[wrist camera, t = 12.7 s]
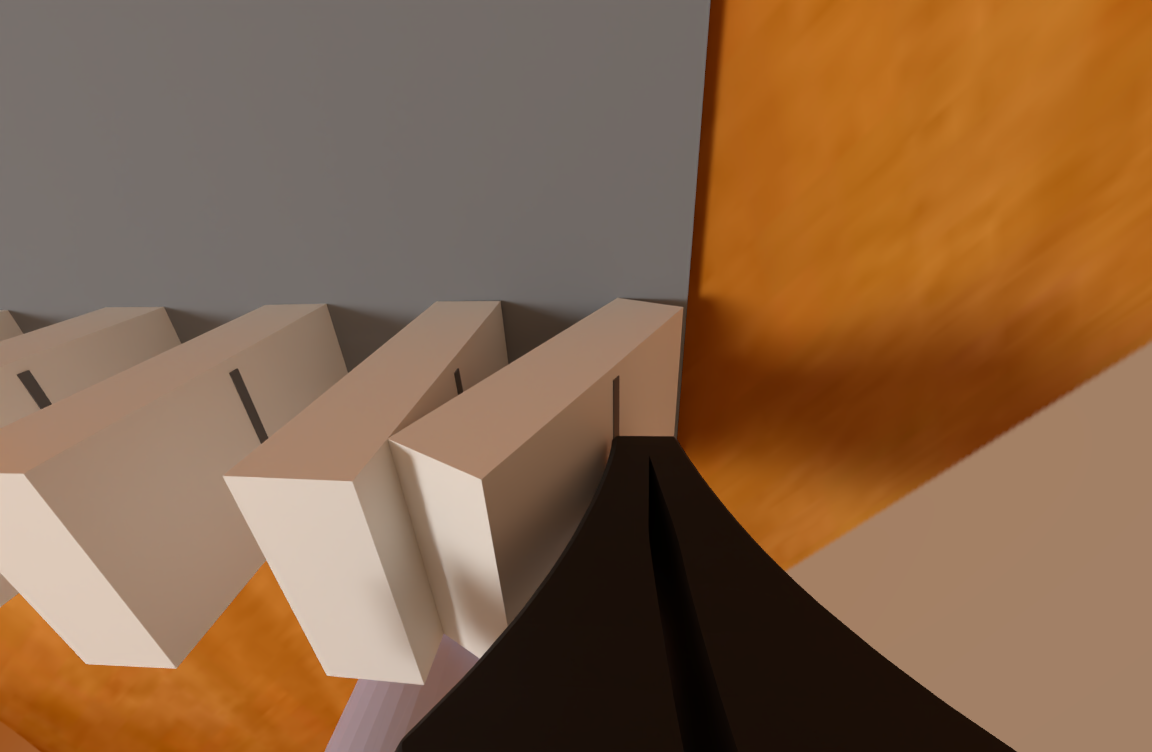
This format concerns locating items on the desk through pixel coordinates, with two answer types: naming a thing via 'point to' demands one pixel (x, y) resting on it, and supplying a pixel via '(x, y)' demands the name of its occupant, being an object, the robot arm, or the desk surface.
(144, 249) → the mat
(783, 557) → the desk surface
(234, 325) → the domino
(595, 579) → the robot arm
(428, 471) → the domino
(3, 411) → the domino
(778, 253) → the desk surface
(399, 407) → the domino
